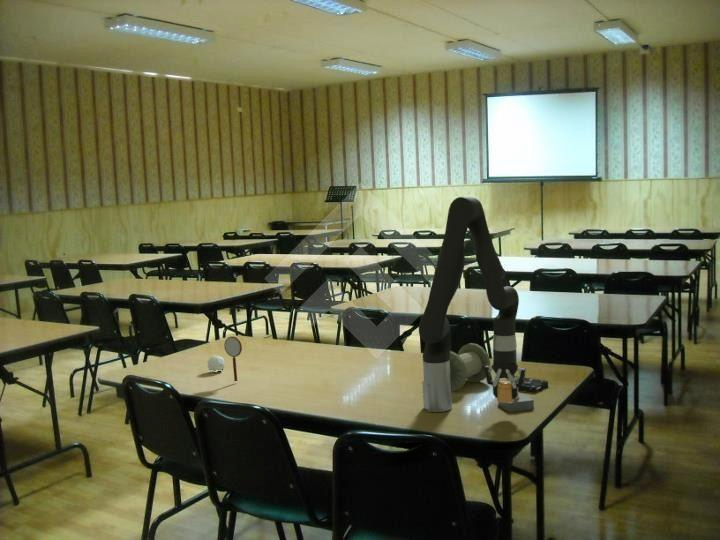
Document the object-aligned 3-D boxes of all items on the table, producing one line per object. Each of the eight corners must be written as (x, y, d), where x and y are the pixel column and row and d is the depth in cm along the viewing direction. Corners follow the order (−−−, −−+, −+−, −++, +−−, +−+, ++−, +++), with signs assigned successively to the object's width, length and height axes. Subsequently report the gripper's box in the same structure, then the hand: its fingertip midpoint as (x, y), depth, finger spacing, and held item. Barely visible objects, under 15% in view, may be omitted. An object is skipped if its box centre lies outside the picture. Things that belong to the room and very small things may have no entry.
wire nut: (501, 403, 243) (501, 385, 243) (495, 399, 248) (495, 381, 247) (515, 401, 244) (515, 384, 244) (509, 397, 249) (509, 380, 248)
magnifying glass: (245, 383, 311) (241, 336, 308) (243, 384, 309) (239, 337, 307) (229, 382, 315) (225, 335, 313) (226, 383, 313) (222, 336, 311)
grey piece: (509, 411, 252) (508, 391, 251) (498, 404, 261) (497, 385, 260) (533, 408, 254) (533, 388, 253) (522, 401, 263) (521, 382, 262)
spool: (460, 378, 299) (458, 341, 297) (491, 383, 288) (489, 345, 286) (433, 387, 287) (431, 349, 286) (465, 393, 277) (463, 354, 275)
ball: (220, 378, 333) (223, 366, 328) (203, 373, 333) (205, 361, 328) (226, 366, 339) (228, 354, 334) (209, 361, 339) (211, 349, 334)
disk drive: (548, 388, 279) (513, 382, 289) (548, 380, 279) (513, 375, 289) (535, 395, 272) (499, 388, 281) (534, 387, 271) (499, 381, 281)
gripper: (480, 348, 244) (481, 399, 246) (524, 351, 238) (524, 403, 240) (486, 343, 250) (487, 392, 252) (529, 346, 244) (529, 396, 246)
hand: (505, 397), depth 246 cm, fingers closed on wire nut, 5 cm apart
